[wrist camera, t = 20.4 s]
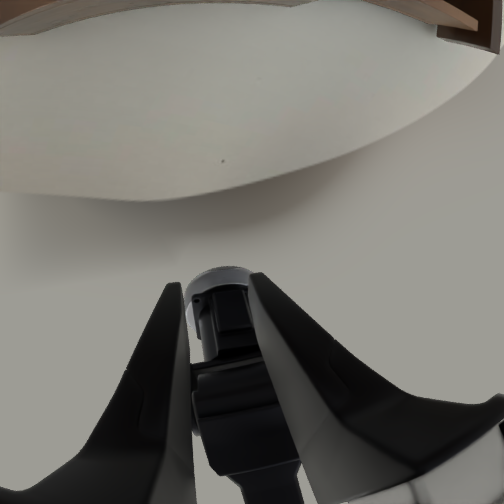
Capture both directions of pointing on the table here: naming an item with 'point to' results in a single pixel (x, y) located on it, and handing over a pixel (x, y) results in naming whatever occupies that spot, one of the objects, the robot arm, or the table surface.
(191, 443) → the robot arm
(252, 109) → the table surface
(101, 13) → the cabinet
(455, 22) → the drawer
